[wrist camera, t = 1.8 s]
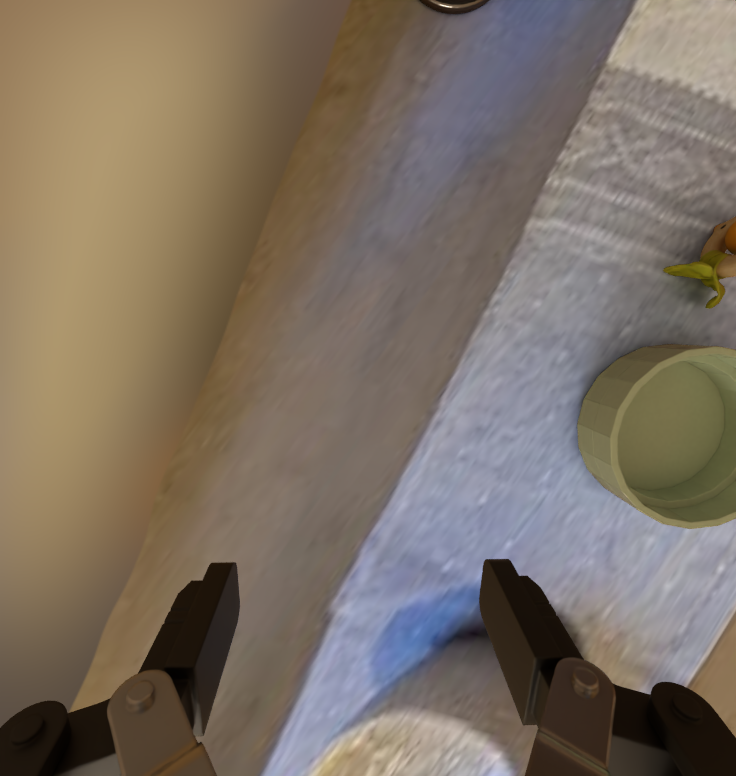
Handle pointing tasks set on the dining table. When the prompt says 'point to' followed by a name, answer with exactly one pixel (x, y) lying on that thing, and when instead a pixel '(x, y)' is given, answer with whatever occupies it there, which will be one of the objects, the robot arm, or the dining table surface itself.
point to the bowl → (666, 433)
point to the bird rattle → (713, 261)
